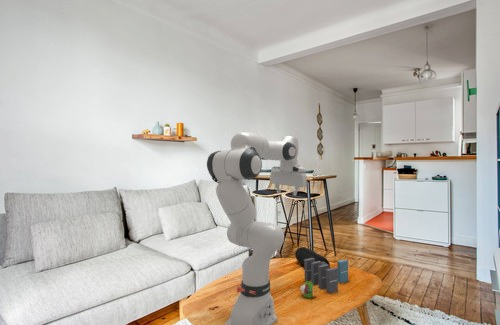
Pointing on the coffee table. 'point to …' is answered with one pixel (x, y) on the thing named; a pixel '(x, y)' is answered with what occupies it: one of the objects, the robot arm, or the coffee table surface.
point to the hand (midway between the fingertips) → (286, 194)
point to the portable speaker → (309, 256)
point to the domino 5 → (342, 271)
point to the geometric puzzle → (307, 289)
